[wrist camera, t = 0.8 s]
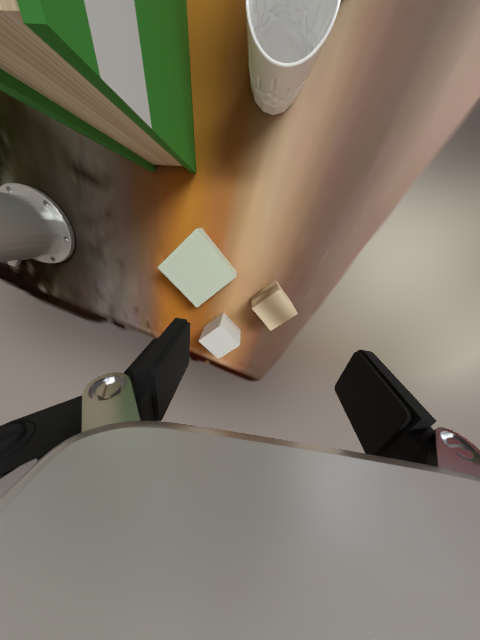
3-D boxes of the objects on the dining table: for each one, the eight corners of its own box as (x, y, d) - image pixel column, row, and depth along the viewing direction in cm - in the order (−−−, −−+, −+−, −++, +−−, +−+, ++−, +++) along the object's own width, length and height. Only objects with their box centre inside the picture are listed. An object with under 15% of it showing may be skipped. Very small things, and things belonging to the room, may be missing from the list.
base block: (201, 300, 39) (196, 307, 35) (166, 263, 35) (157, 267, 32) (236, 271, 36) (235, 276, 32) (202, 227, 32) (196, 228, 29)
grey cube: (221, 342, 44) (218, 359, 39) (204, 326, 42) (198, 341, 36) (240, 329, 42) (239, 345, 37) (223, 311, 40) (220, 325, 35)
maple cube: (267, 316, 40) (270, 330, 35) (251, 296, 38) (251, 308, 33) (290, 301, 38) (297, 313, 33) (274, 279, 36) (279, 289, 31)
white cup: (265, 10, 21) (279, -145, 12) (319, 57, 22) (367, -51, 14) (235, 99, 24) (229, 28, 16) (284, 134, 26) (303, 88, 17)
